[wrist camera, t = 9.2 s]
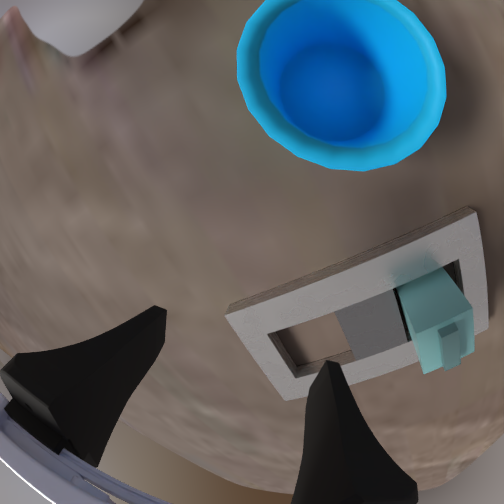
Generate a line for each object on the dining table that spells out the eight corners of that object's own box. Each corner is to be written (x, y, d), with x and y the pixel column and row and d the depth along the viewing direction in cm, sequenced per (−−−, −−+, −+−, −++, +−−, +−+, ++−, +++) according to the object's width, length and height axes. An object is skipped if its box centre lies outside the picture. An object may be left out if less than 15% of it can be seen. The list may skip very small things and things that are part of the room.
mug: (381, 168, 17) (428, 195, 10) (258, 142, 18) (222, 150, 11) (401, 9, 12) (444, -43, 5) (282, -15, 13) (263, -82, 6)
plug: (440, 264, 18) (477, 315, 12) (447, 304, 20) (478, 358, 13) (394, 284, 20) (419, 342, 14) (405, 322, 21) (426, 382, 15)
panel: (466, 206, 16) (476, 211, 15) (482, 318, 19) (488, 328, 18) (229, 304, 23) (224, 315, 22) (286, 389, 26) (285, 400, 25)
